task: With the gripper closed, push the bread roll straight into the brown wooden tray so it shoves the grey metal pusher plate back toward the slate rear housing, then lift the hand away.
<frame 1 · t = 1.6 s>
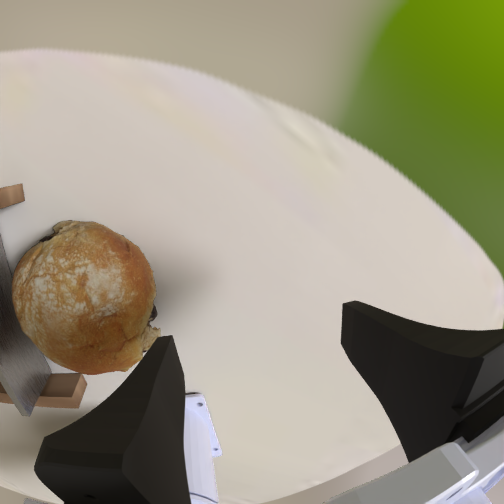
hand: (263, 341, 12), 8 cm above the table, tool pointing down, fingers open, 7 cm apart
bread roll: (95, 290, 18), on the table
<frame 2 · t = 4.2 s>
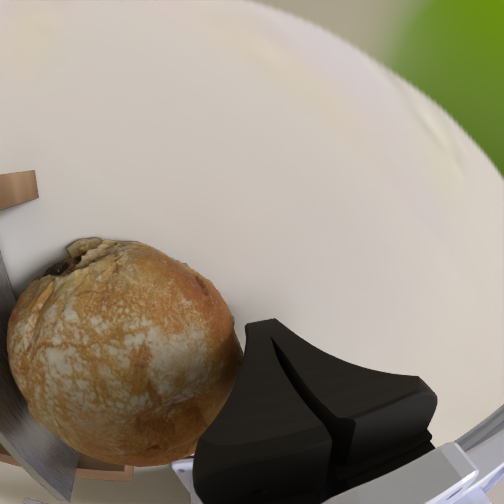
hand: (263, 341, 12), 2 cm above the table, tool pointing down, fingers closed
bread roll: (134, 338, 13), on the table, touching gripper
pusher plate: (9, 380, 9), point 3 cm above the table, slide at 0.0 cm
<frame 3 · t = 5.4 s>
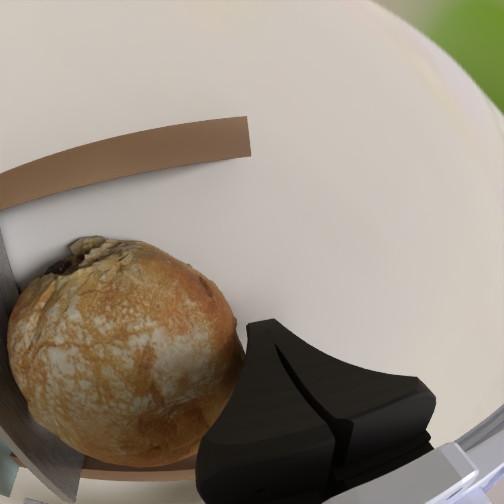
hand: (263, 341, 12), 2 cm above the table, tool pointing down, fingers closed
brown wooden tray: (69, 343, 12), on the table
bread roll: (135, 338, 13), on the table, touching gripper, pusher plate
pusher plate: (14, 380, 9), point 3 cm above the table, slide at 8.2 cm, touching bread roll
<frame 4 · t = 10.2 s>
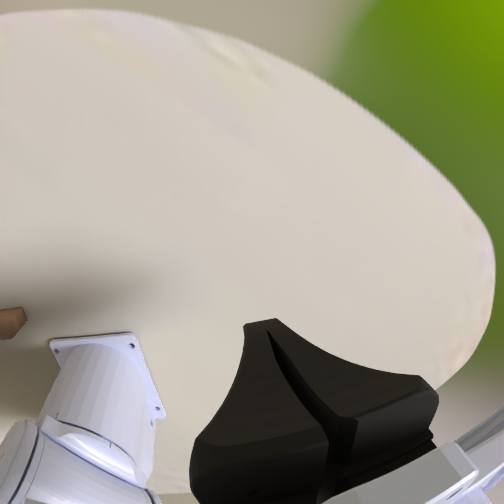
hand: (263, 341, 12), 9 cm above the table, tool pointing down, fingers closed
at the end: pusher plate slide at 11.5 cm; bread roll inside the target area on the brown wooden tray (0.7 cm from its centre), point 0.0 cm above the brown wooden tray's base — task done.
